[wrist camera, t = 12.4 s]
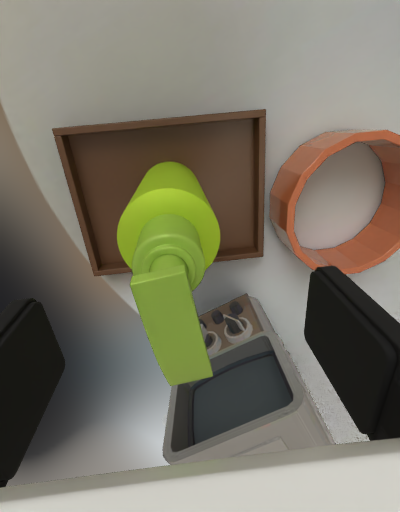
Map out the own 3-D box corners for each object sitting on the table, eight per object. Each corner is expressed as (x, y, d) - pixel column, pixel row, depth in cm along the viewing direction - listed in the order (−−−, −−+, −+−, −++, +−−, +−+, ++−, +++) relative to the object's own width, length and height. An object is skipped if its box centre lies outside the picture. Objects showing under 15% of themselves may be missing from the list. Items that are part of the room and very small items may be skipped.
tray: (60, 128, 25) (51, 128, 23) (259, 110, 25) (265, 109, 24) (98, 267, 31) (94, 276, 29) (258, 249, 31) (263, 256, 30)
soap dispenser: (153, 235, 29) (122, 408, 11) (133, 169, 26) (46, 259, 8) (206, 222, 29) (263, 375, 11) (192, 155, 26) (239, 214, 8)
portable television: (243, 264, 32) (625, 996, 5) (304, 384, 42) (544, 848, 15) (155, 308, 34) (85, 1058, 7) (234, 414, 43) (337, 886, 16)
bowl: (271, 137, 26) (291, 139, 22) (403, 124, 27) (449, 123, 23) (267, 260, 32) (283, 282, 28) (377, 247, 33) (409, 266, 28)
